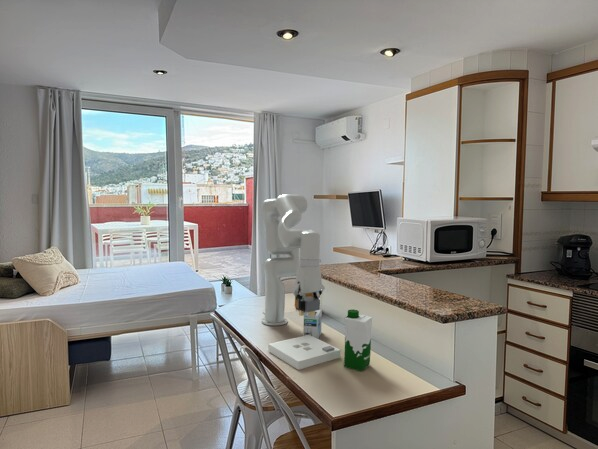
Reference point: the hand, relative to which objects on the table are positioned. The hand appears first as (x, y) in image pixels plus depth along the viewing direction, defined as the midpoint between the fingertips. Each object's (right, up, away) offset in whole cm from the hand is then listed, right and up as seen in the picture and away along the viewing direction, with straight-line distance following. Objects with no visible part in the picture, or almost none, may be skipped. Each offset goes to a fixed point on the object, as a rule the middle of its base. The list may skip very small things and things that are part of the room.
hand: (308, 308), depth 153 cm
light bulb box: (+2, -17, +22) cm, 27 cm away
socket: (-2, -18, 0) cm, 18 cm away
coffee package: (0, -14, +65) cm, 66 cm away
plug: (0, -3, 0) cm, 3 cm away
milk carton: (+17, -19, -9) cm, 27 cm away
